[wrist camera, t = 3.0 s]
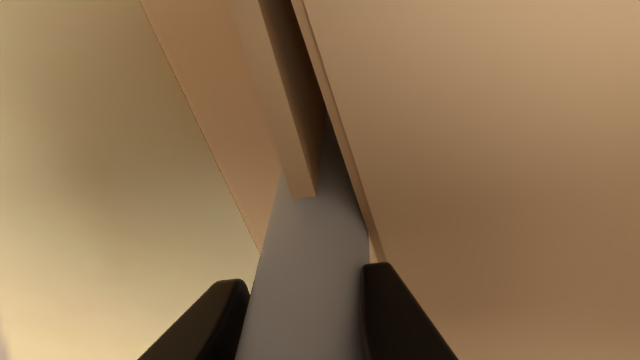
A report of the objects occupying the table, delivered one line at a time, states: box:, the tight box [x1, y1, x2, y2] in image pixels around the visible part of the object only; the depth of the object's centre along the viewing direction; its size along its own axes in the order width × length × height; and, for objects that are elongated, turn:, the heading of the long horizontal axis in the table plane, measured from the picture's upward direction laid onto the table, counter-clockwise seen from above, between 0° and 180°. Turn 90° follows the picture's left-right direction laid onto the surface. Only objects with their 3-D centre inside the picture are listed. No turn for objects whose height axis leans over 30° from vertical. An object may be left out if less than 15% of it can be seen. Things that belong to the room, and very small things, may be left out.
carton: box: [139, 0, 640, 360], centre depth 12 cm, size 20×19×6 cm
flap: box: [228, 0, 370, 360], centre depth 8 cm, size 7×2×10 cm, turn 14°
